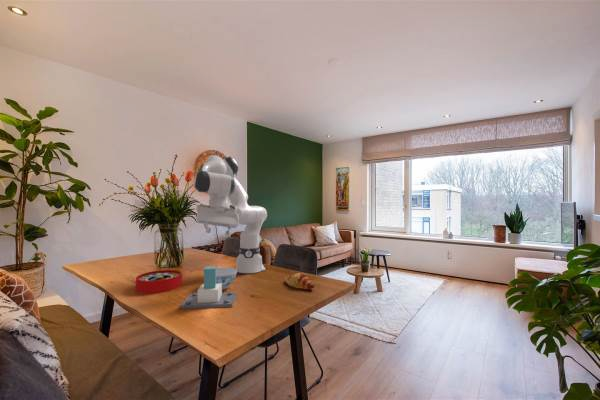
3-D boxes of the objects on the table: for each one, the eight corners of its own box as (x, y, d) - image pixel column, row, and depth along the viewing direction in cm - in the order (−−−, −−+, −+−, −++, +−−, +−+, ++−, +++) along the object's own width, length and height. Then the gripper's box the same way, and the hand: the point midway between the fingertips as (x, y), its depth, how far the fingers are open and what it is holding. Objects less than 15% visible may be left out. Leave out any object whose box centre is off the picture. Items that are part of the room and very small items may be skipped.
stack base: (190, 296, 118) (190, 282, 118) (236, 295, 120) (236, 281, 120) (179, 308, 105) (179, 292, 105) (232, 306, 107) (232, 291, 107)
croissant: (281, 288, 140) (275, 276, 137) (294, 276, 146) (289, 264, 143) (309, 299, 124) (303, 285, 122) (323, 284, 130) (317, 271, 128)
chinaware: (242, 287, 131) (242, 271, 131) (213, 295, 120) (214, 277, 120) (227, 280, 141) (227, 266, 141) (199, 287, 131) (199, 271, 131)
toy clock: (190, 271, 139) (161, 282, 119) (190, 282, 139) (161, 295, 119) (157, 268, 144) (125, 279, 124) (157, 279, 144) (125, 292, 124)
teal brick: (205, 285, 114) (205, 266, 114) (216, 284, 115) (216, 266, 115) (203, 288, 109) (203, 269, 109) (215, 288, 110) (215, 268, 110)
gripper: (199, 200, 124) (198, 227, 117) (240, 208, 136) (241, 233, 129) (194, 206, 128) (193, 233, 121) (234, 213, 140) (235, 238, 133)
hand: (218, 233), depth 125 cm, fingers open, 8 cm apart
